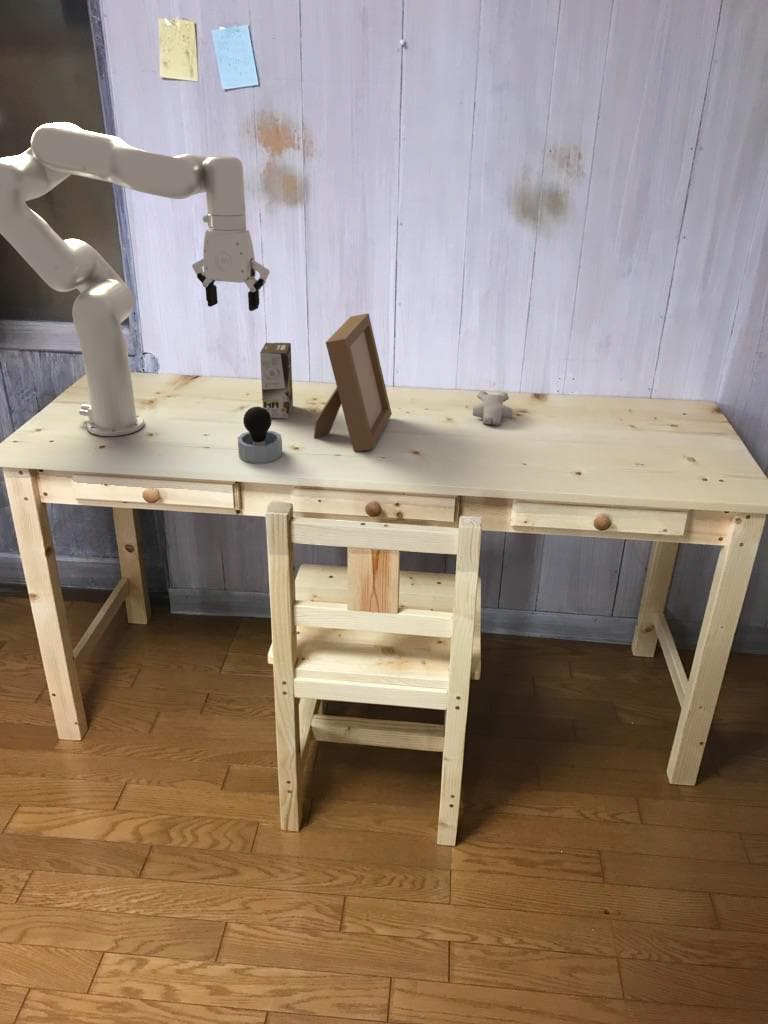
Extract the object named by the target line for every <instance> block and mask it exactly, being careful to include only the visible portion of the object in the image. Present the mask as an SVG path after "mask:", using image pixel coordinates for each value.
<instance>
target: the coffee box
mask: <svg viewBox="0 0 768 1024" xmlns="http://www.w3.org/2000/svg"><path fill="white" fill-rule="evenodd" d="M291 344H292V343H291V342H265V343H264V345H263V346H262V349H261V351H260V352H259V355H260V375H261V376H260V379H261V395H262V397H261V400H262V408H264V409H266V410H267V411H268V412H269V414H270V416H271V419H289V417H290V415H291V412H292V409H293V407H294V396H293V373H292V371H293V369H292V367H293V366H292V345H291Z"/></svg>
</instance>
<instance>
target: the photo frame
mask: <svg viewBox="0 0 768 1024" xmlns="http://www.w3.org/2000/svg"><path fill="white" fill-rule="evenodd" d="M375 339H376V338H375V336H374V330H373V327H372V322H371V317H370V313H363V314H358V315H352V316H351V315H350V316H349V318H347V320H346V321H345V322H344V323H343V324H342V325H341V326H340V327H338V328H337V330H336V331H335V332H334V333H333V334H332V335H331V336H330V337H329V338H328V339H327V341H325V345H326V349H327V352H328V353H327V354H328V357H329V360H330V365H331V369H332V373H333V376H334V380H335V385H336V388H335V389H334V391H333V392H332V393H331V395H330V397H329V398H328V400H327V401H326V403H325V405H324V406H323V408H322V409H321V411H320V412H319V414H318V415H317V417H316V418H315V421H314V429H313V438H314V439H317V437H318V438H320V436H321V437H323V435H324V436H326V435H325V434H327V435H329V434H330V433H331V430H332V427H333V426H334V423H335V420H336V418H337V416H338V413H339V411H340V408H341V409H342V412H343V415H344V420H345V423H346V424H345V425H346V427H347V430H348V434H349V438H350V443H351V447H352V450H353V452H354V451H355V452H362V451H368V450H373V449H374V448H375V446H376V444H377V441H378V440H379V438H380V436H381V434H382V433H383V431H384V429H385V427H386V425H387V424H388V421H389V419H390V418H391V415H392V414H393V413H392V409H391V405H390V401H389V397H388V392H387V387H386V382H385V378H384V375H383V370H382V367H381V366H382V365H381V362H380V358H379V353H378V348H377V344H376V340H375ZM328 433H329V434H328Z"/></svg>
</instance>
